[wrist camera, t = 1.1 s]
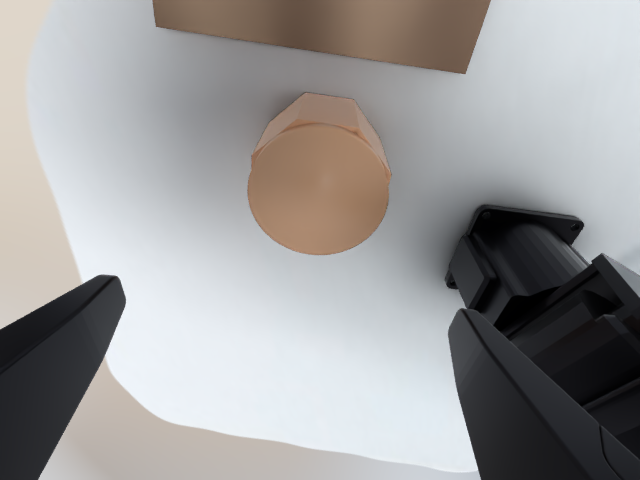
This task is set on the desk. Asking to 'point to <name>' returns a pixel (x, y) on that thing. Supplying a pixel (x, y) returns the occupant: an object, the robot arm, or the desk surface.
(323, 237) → the cap
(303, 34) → the post board
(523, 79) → the desk surface
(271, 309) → the desk surface
